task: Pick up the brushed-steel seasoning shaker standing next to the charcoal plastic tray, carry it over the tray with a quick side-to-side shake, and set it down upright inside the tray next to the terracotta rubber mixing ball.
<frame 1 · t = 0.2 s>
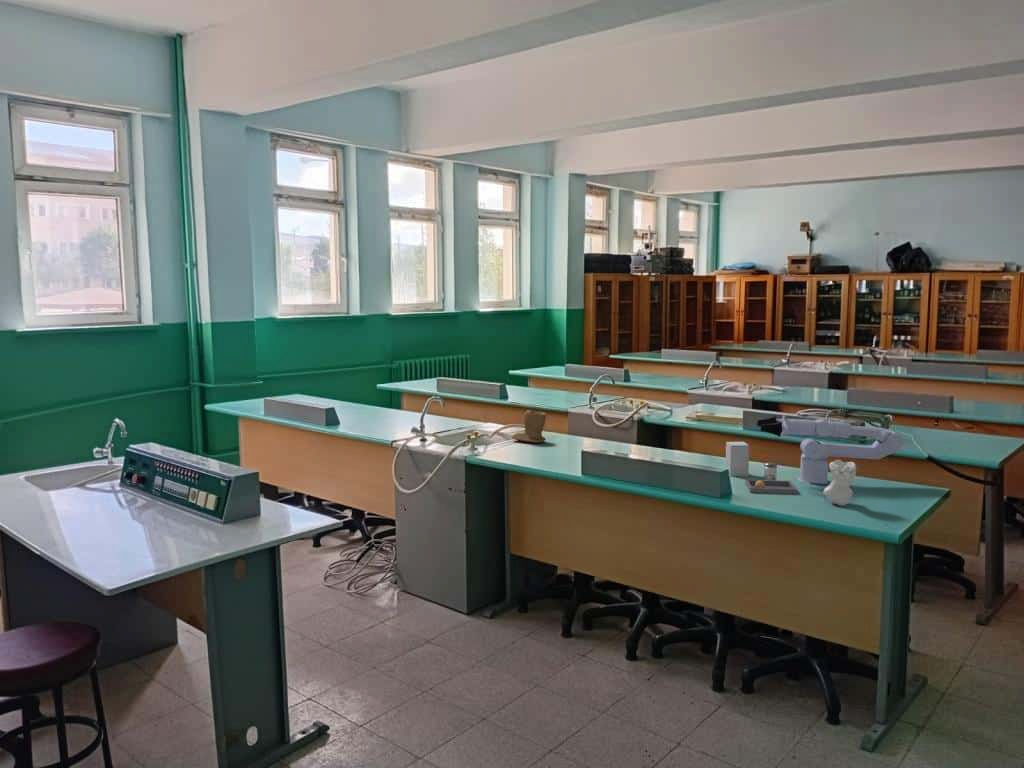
hand: (758, 425, 298), 21 cm above the lab bench, tool horizontal, fingers open, 7 cm apart
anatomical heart: (840, 505, 266), on the lab bench
shaker: (770, 482, 297), on the lab bench
supplement box: (736, 475, 309), on the lab bench
ball: (759, 490, 284), resting on tray
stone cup: (531, 441, 376), on the lab bench
tray: (770, 490, 286), on the lab bench
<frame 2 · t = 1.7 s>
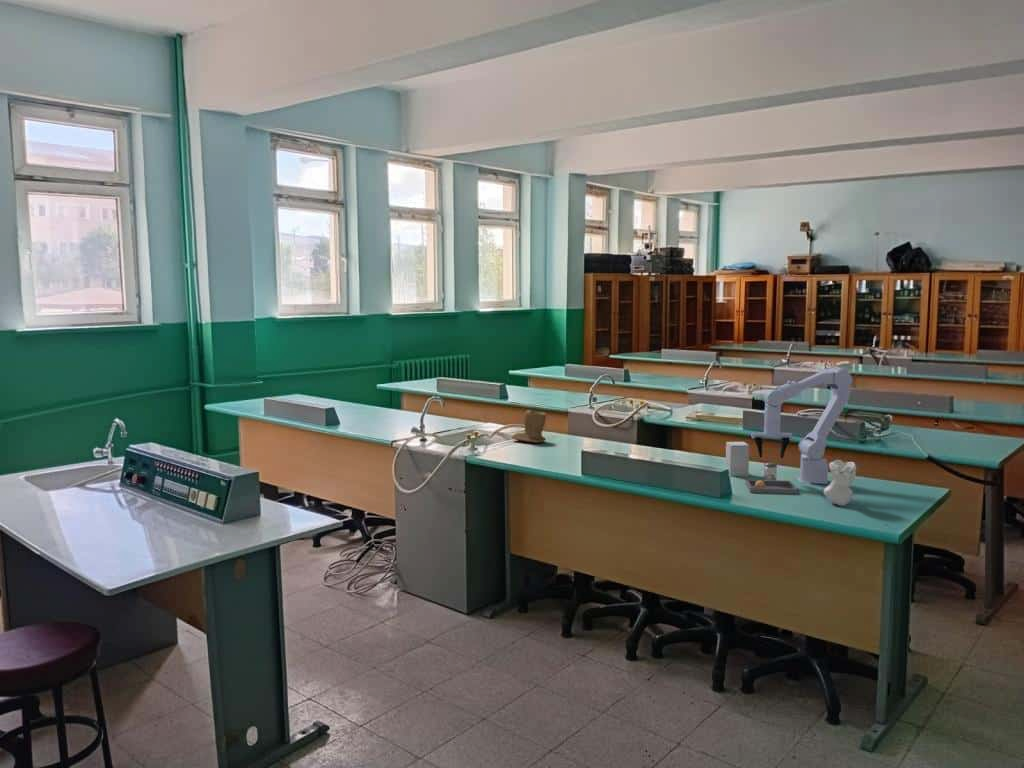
hand: (771, 457, 296), 10 cm above the lab bench, tool pointing down, fingers open, 7 cm apart
nothing on the lab bench moved.
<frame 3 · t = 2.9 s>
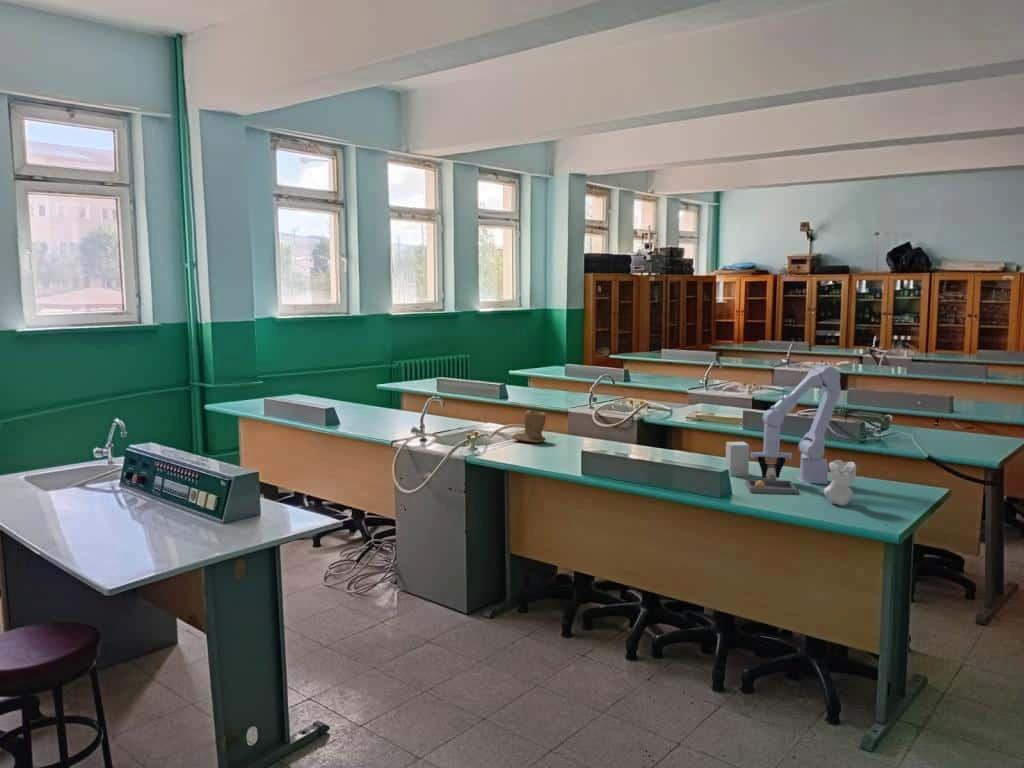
hand: (770, 477, 297), 2 cm above the lab bench, tool pointing down, fingers closed on shaker, 4 cm apart
shaker: (770, 482, 297), on the lab bench, touching gripper
everything else where it was.
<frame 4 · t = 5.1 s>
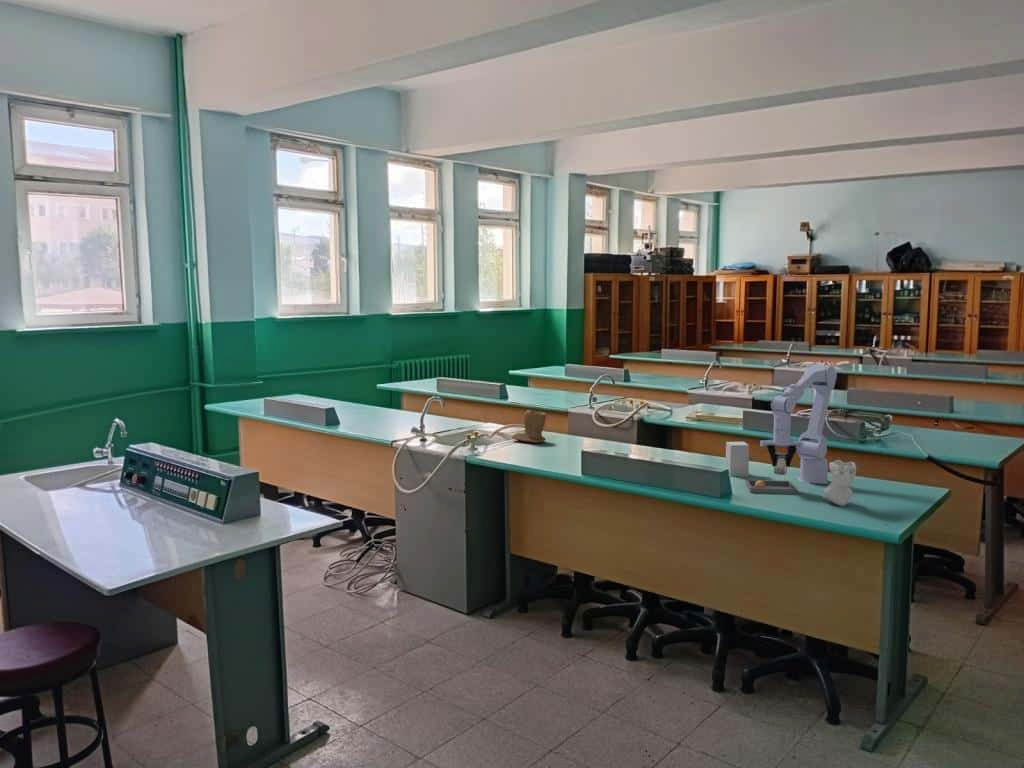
hand: (780, 466, 285), 9 cm above the lab bench, tool pointing down, fingers closed on shaker, 4 cm apart
shaker: (780, 473, 286), point 6 cm above the lab bench, touching gripper
everything else where it was.
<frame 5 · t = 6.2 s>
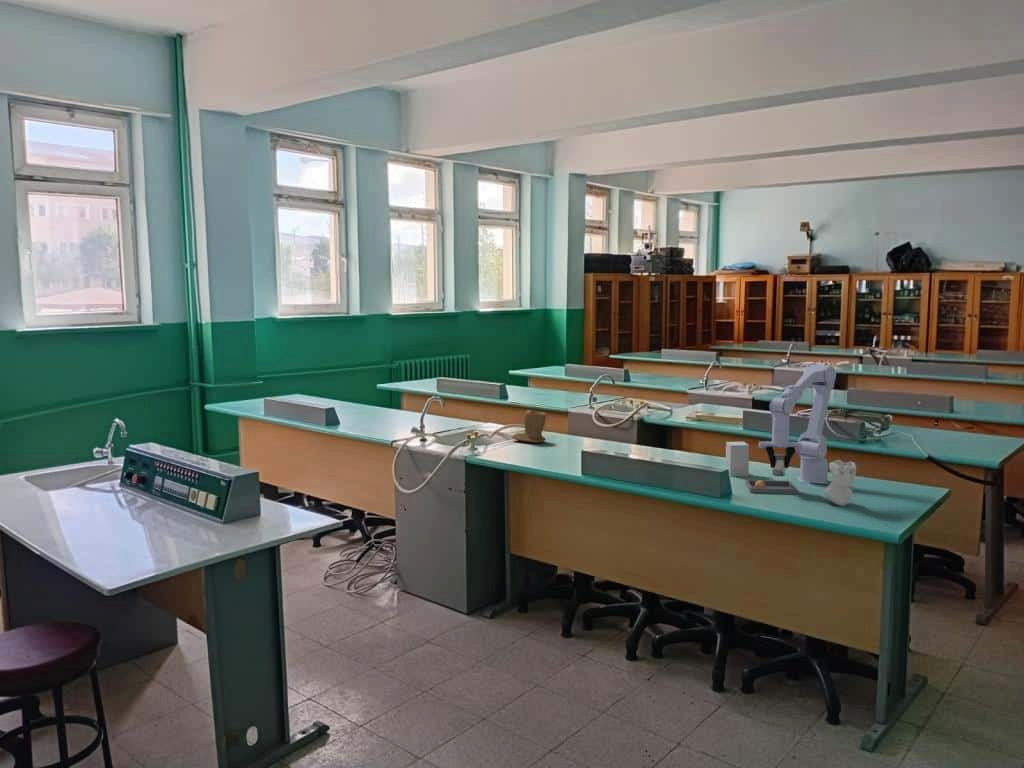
hand: (779, 467, 285), 8 cm above the lab bench, tool pointing down, fingers closed on shaker, 4 cm apart
shaker: (778, 474, 286), point 6 cm above the lab bench, touching gripper
everything else where it was.
when the fingers open (3 cm above the lab bench, at t = 7.4 s): shaker stays where it is, resting on tray.
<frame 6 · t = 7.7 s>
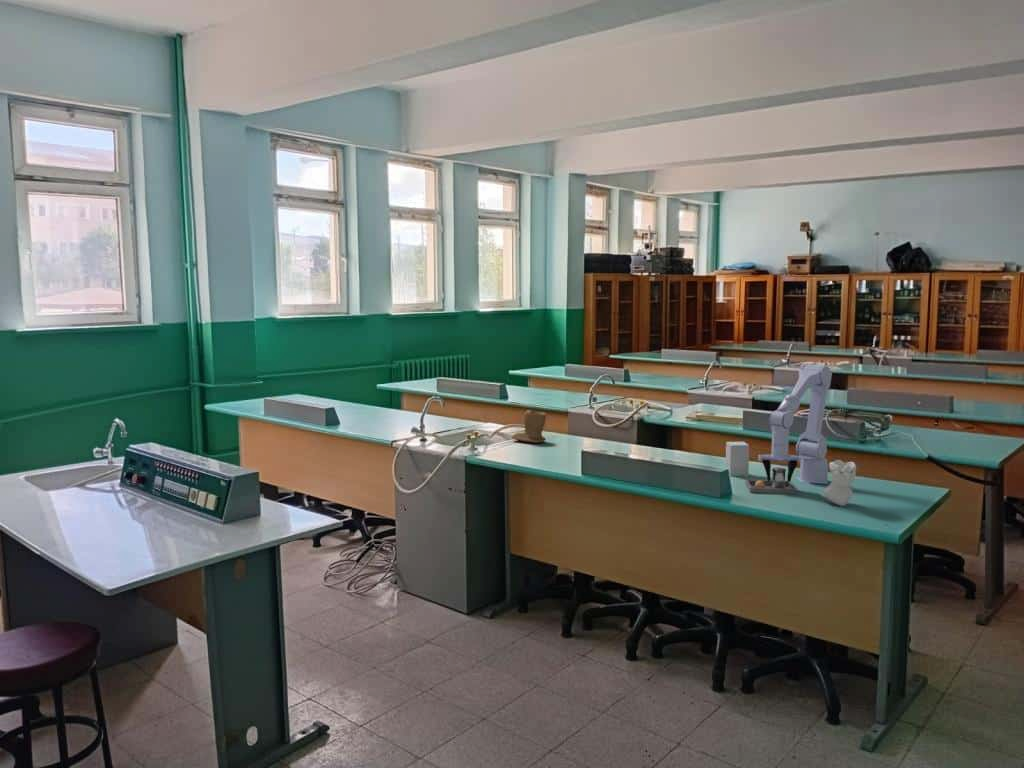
hand: (778, 480, 286), 3 cm above the lab bench, tool pointing down, fingers open, 6 cm apart
shaker: (778, 488, 287), point 1 cm above the lab bench, touching tray
everything else where it was.
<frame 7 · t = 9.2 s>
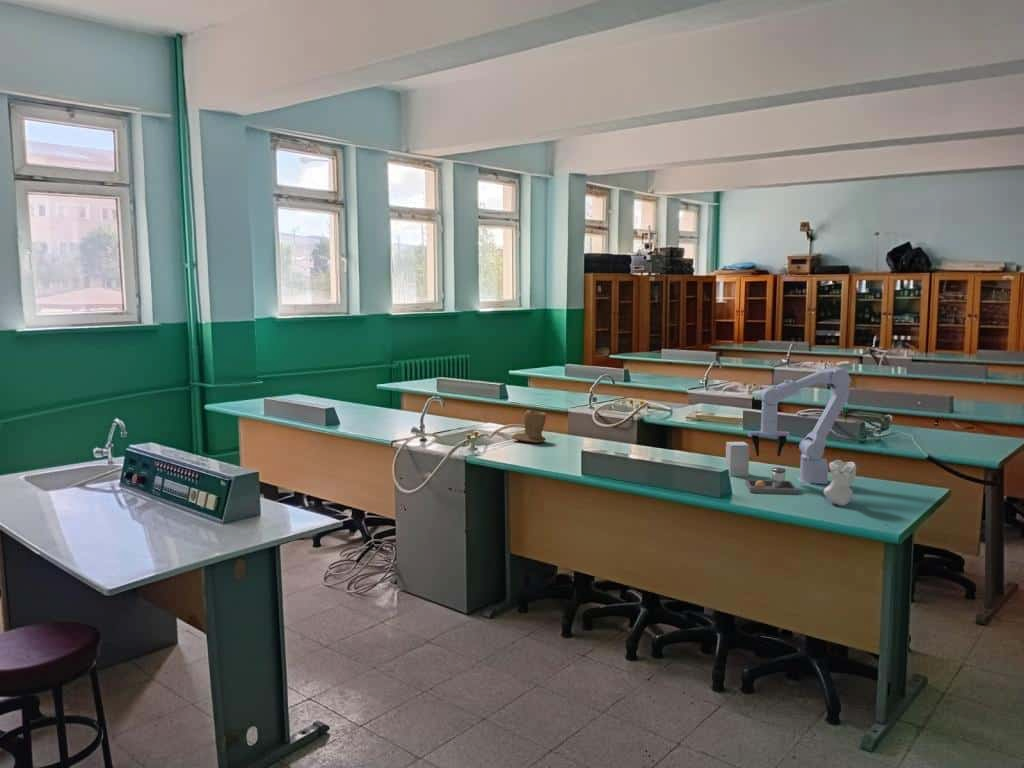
hand: (767, 455, 297), 10 cm above the lab bench, tool pointing down, fingers open, 7 cm apart
nothing on the lab bench moved.
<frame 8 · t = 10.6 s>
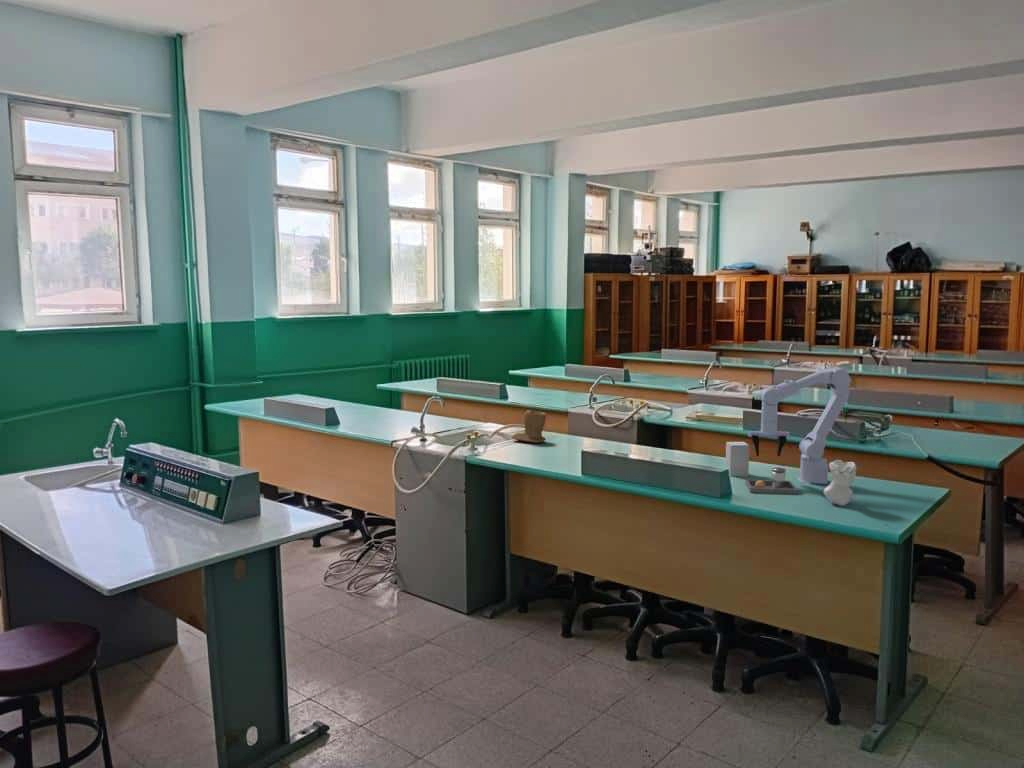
hand: (767, 455, 297), 10 cm above the lab bench, tool pointing down, fingers open, 7 cm apart
nothing on the lab bench moved.
at the end: shaker inside the target area on the tray (3.4 cm from its centre), point 0.5 cm above the tray's base; shaker tilted 0°; the gripper is holding nothing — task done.
